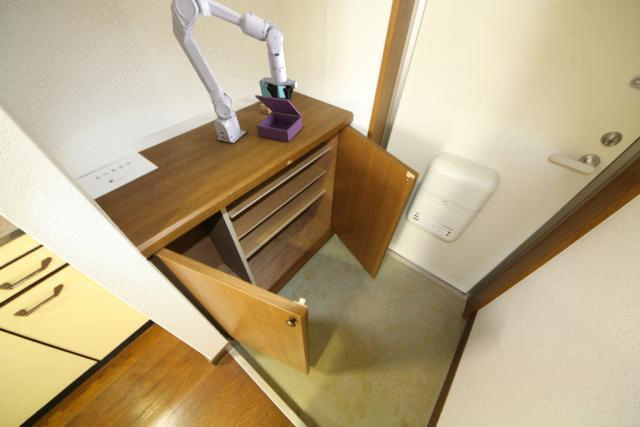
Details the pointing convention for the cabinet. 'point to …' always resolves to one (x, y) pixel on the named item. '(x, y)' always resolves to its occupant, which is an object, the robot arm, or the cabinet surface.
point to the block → (265, 109)
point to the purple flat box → (280, 126)
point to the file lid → (279, 105)
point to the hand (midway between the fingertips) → (282, 104)
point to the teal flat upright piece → (266, 92)
